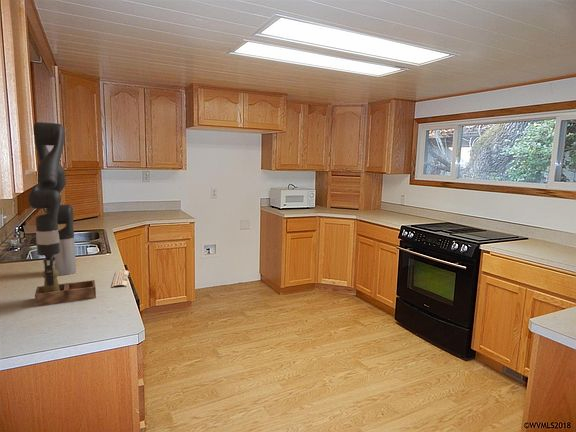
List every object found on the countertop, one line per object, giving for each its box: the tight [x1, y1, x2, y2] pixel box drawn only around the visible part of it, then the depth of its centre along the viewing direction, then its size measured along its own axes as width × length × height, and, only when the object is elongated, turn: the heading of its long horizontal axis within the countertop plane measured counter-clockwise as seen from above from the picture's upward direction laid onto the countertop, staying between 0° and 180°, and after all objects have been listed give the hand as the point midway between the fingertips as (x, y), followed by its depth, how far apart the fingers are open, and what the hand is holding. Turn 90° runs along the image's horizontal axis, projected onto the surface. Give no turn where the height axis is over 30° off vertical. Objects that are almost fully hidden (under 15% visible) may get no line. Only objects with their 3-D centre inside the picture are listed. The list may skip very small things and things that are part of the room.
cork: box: [42, 269, 60, 293], centre depth 152 cm, size 6×6×11 cm
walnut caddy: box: [34, 279, 97, 307], centre depth 155 cm, size 20×10×4 cm, turn 118°
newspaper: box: [111, 269, 130, 288], centre depth 181 cm, size 24×7×2 cm, turn 20°
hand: (51, 282), depth 152 cm, fingers open, 8 cm apart
